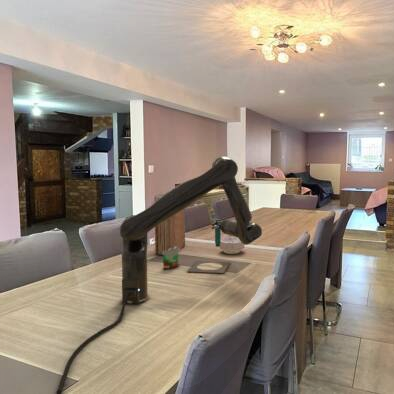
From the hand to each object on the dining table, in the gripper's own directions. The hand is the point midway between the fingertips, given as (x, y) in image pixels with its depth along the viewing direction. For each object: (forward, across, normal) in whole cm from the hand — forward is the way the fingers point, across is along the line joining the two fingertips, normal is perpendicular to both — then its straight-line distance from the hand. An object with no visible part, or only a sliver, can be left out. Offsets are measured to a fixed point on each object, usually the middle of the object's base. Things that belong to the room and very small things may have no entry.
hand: (215, 222), depth 175 cm
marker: (-3, 0, +12) cm, 12 cm away
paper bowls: (+21, -22, +24) cm, 38 cm away
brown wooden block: (+44, +8, +24) cm, 51 cm away
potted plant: (+11, +18, +24) cm, 32 cm away
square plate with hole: (0, +3, +24) cm, 24 cm away
